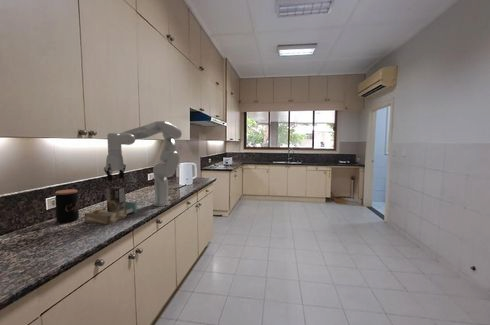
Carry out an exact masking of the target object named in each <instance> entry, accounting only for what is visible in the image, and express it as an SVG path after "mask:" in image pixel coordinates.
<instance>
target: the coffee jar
mask: <svg viewBox="0 0 490 325" xmlns="http://www.w3.org/2000/svg"><path fill="white" fill-rule="evenodd" d="M79 213H80V212H79V194H78V189H76V188H75V189H74V188H72V189H71V188H70V189H61V190H56V191H55V214H56V215H55V216H56V219H55V220H56V222H57V223H59V224H69V223H73V222H76V221H78V219H80V216H79V215H80V214H79Z"/></svg>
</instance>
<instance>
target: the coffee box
mask: <svg viewBox="0 0 490 325" xmlns="http://www.w3.org/2000/svg"><path fill="white" fill-rule="evenodd" d="M105 190H106V210H107V212H113V213H117V212H119V211H122V210H125V209H126V202H127V201H126V198H127V197H126V186H125V187H123V186H111V187H108V188H106V189H105Z"/></svg>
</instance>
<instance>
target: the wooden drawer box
mask: <svg viewBox="0 0 490 325" xmlns="http://www.w3.org/2000/svg"><path fill="white" fill-rule="evenodd" d="M104 210H107V206H105V207H100V208H98V209H95V210H92V211H88V212H86V213H84V222H85V223H92V224H101V225H107V226H108V225H109V226H110V225H112V224H114V223H116V222H118V221H121V220H123V219H126V218H128V217H127V215H128V214H127V210H126V209H125V210H122V211H119V212H117V213H114V214H112V215H101V211H104Z"/></svg>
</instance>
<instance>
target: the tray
mask: <svg viewBox="0 0 490 325" xmlns="http://www.w3.org/2000/svg"><path fill="white" fill-rule="evenodd" d="M137 206H138V204H137V202H134V201H126V210H127V215H128V214H132V213H133V214H134V213H135V214H136V213H137V210H138V209H137ZM112 214H114V213H113V212H107V209H106V210H104V211H101V215H112Z"/></svg>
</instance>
